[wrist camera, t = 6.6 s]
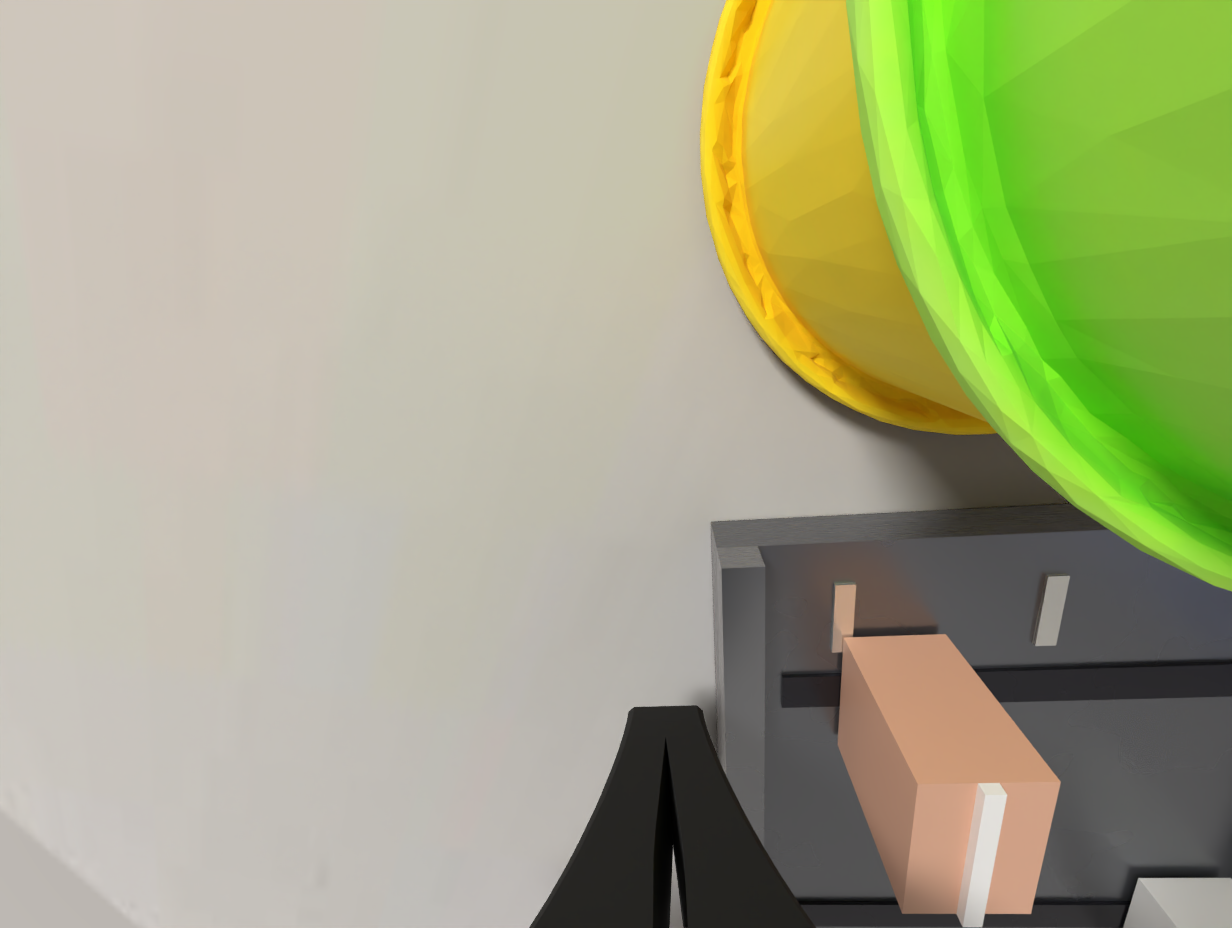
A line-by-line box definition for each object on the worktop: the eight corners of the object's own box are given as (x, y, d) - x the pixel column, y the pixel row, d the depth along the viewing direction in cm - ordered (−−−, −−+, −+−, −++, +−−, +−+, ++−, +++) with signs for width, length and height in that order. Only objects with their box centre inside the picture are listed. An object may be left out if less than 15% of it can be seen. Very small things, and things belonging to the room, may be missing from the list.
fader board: (1367, 489, 12) (1506, 533, 10) (1201, 930, 16) (1275, 1020, 14) (710, 521, 13) (721, 568, 11) (723, 928, 17) (731, 1012, 15)
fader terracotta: (945, 634, 12) (1070, 794, 8) (932, 743, 13) (1038, 927, 9) (843, 637, 12) (923, 796, 8) (837, 744, 13) (907, 927, 9)
